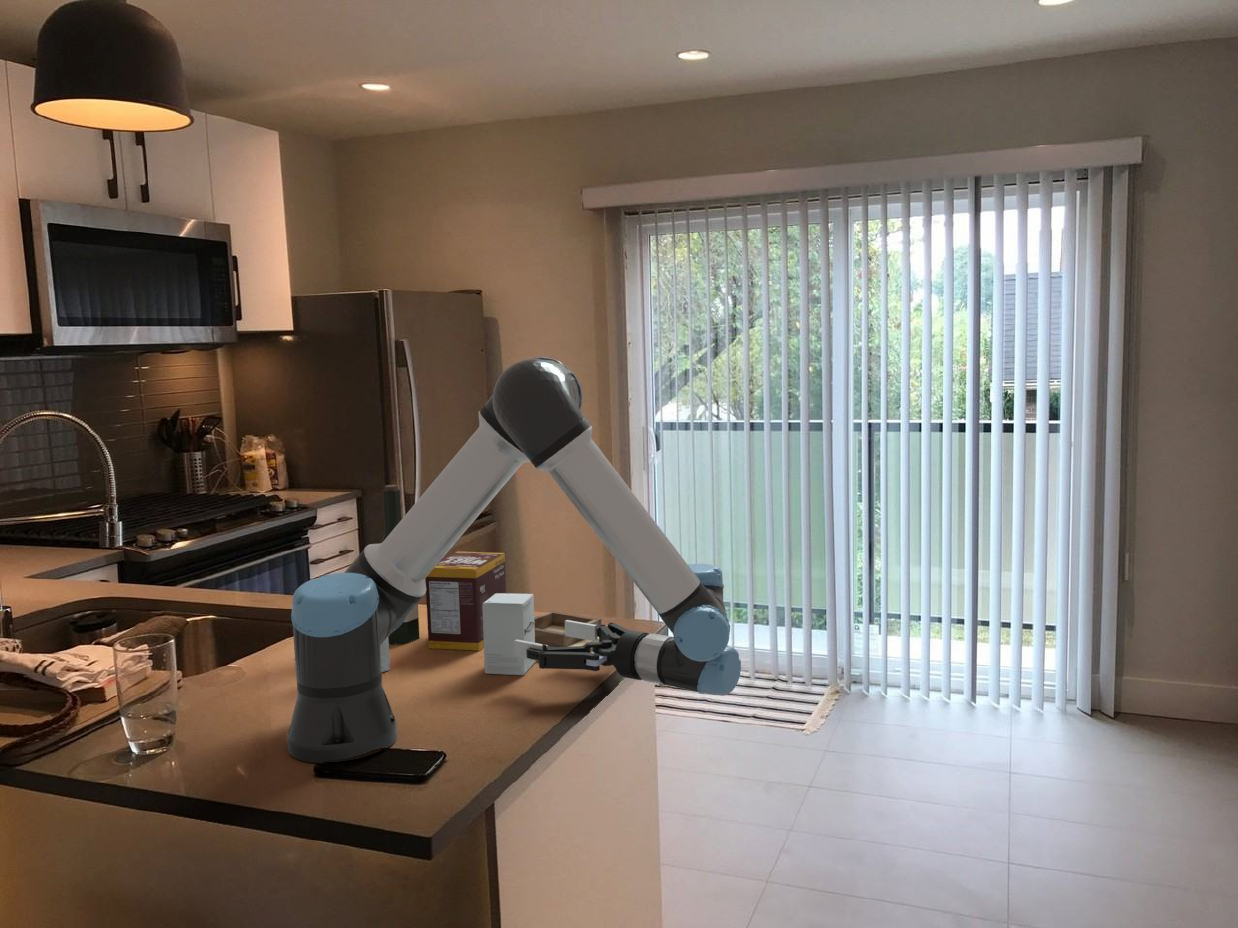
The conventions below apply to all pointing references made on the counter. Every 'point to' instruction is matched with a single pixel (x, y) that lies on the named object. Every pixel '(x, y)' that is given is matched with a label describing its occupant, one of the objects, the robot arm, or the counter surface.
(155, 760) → the counter surface
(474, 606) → the supplement box
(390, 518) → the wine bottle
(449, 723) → the counter surface
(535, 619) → the dock
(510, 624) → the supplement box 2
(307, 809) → the counter surface
